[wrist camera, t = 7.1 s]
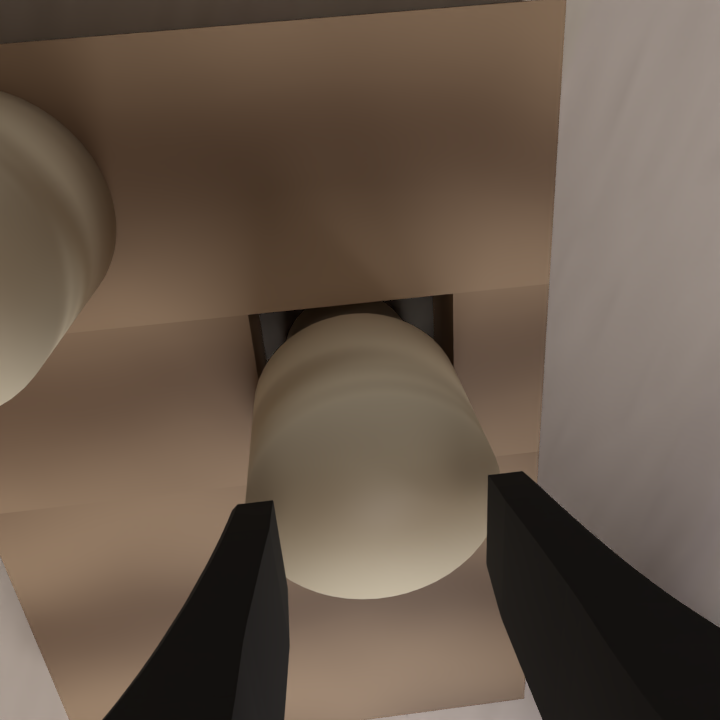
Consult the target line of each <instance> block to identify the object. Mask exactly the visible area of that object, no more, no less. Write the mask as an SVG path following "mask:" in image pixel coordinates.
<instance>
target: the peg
mask: <svg viewBox="0 0 720 720" xmlns="http://www.w3.org/2000/svg"><path fill="white" fill-rule="evenodd" d="M493 474H500V470H499V466H498V463H497V460H496V457H495V455H494V453H493V451H492V448H491V446H490V444H489V442H488V440H487V438H486V436H485V433H484V431H483V429H482V427H481V425H480V423H479V421H478V419H477V416H476V414H475V412H474V410H473V408H472V406H471V404H470V402H469V399H468V397H467V395H466V393H465V391H464V389H463V387H462V385H461V382H460V380H459V378H458V376H457V374H456V372H455V370H454V367H453V366H452V364H451V362H450V360H449V358H448V356H447V355H446V354H445V352H444V351H443V349H442V348H441V347H440V346H439V345H438V344H437V343H436V342H435V341H434V340H433V339H432V338H431V337H430V336H429V335H427V334H426V333H425V332H423V331H422V330H420V329H419V328H417V327H415V326H413V325H411V324H409V323H407V322H404V321H402V319H401V318H400V317H399V315H398V314H397V313H396V312H395V311H394V310H393V309H392V308H391V307H390V306H388V305H387V304H386V303H384V302H382V301H376V302H367V303H357V304H347V305H338V306H328V307H318V308H308V309H305V310H304V311H303V312H302V313H301V314H300V315H299V316H298V317H297V319H296V320H295V321H294V323H293V325H292V326H291V328H290V331H289V333H288V336H287V340H286V342H285V343H284V344H283V345H281V346H280V347H279V348H278V349H277V351H276V352H275V353H274V354H273V355H272V357H271V358H270V359H269V361H268V363H267V364H266V366H265V367H264V369H263V371H262V374H261V376H260V378H259V380H258V384H257V388H256V391H255V398H254V408H253V419H252V431H251V442H250V454H249V465H248V476H247V488H246V499H245V503H253V502H262V501H270V500H273V502H274V508H275V514H276V520H277V526H278V532H279V538H280V544H281V550H282V556H283V562H284V568H285V574H286V578H288V579H289V580H291V581H292V582H294V583H296V584H298V585H300V586H302V587H304V588H307V589H309V590H312V591H315V592H317V593H321V594H325V595H329V596H333V597H340V598H346V599H378V598H385V597H392V596H397V595H401V594H405V593H409V592H412V591H415V590H417V589H420V588H423V587H425V586H427V585H430V584H432V583H434V582H436V581H438V580H440V579H441V578H443V577H445V576H446V575H448V574H450V573H451V572H452V571H454V570H455V569H457V568H458V567H459V566H461V565H462V564H463V563H464V562H465V561H466V560H467V559H468V558H469V557H471V556H472V555H473V553H474V552H475V551H476V550H477V549H478V548H479V546H480V545H481V544H482V542H483V541H484V539H485V538H486V536H487V496H488V475H493Z"/></svg>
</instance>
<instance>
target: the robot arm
mask: <svg viewBox="0 0 720 720" xmlns="http://www.w3.org/2000/svg"><path fill="white" fill-rule="evenodd" d="M486 565H487V569H488V572H489V576H490V580H491V584H492V587H493V591H494V595H495V598H496V602H497V605H498V609H499V612H500V616H501V619H502V621H503V624H504V626H505V629H506V631H507V634H508V636H509V639H510V641H511V644H512V646H513V649H514V651H515V654H516V656H517V659H518V661H519V664H520V666H521V668H522V671H523V673H524V676H525V678H526V681H527V683H528V685H529V688H530V690H531V693H532V695H533V698H534V700H535V702H536V705H537V707H538V710H539V712H540V715H541V717H542V719H543V720H720V628H719V627H717V626H716V625H714V624H713V623H711V622H710V621H708V620H707V619H705V618H704V617H702V616H701V615H699V614H697V613H696V612H694V611H693V610H691V609H690V608H688V607H687V606H685V605H684V604H682V603H681V602H679V601H678V600H676V599H675V598H673V597H672V596H671V595H669V594H668V593H666V592H665V591H663V590H662V589H661V588H659V587H658V586H657V585H655V584H654V583H653V582H651V581H650V580H649V579H647V578H646V577H645V576H643V575H642V574H641V573H639V572H638V571H637V570H635V569H634V568H633V567H632V566H630V565H629V564H628V563H627V562H625V561H624V560H623V559H622V558H620V557H619V556H618V555H617V554H615V553H614V552H613V551H612V550H611V549H609V548H608V547H607V546H606V545H605V544H604V543H602V542H601V541H600V540H599V539H598V538H596V537H595V536H594V535H593V534H592V533H591V532H589V531H588V530H587V529H586V528H585V527H584V526H583V525H581V524H580V523H579V522H578V521H577V520H576V519H575V518H573V517H572V516H571V515H570V514H569V513H568V512H567V511H566V510H565V509H564V508H562V507H561V506H560V505H559V504H558V503H557V502H556V501H555V500H554V499H553V498H552V497H551V496H549V495H548V494H547V493H546V492H545V491H544V490H543V489H542V488H541V487H540V486H539V485H538V484H537V483H536V482H534V481H533V480H532V479H531V478H530V477H529V476H528V475H527V474H526V473H524V472H523V471H518V472H510V473H501V474H493V475H488V496H487V549H486ZM289 649H290V637H289V606H288V586H287V580H286V574H285V568H284V562H283V556H282V550H281V544H280V538H279V532H278V526H277V520H276V514H275V508H274V502H273V500H270V501H262V502H253V503H245V504H237V506H236V507H235V508H234V509H233V510H232V511H231V514H230V516H229V519H228V521H227V523H226V526H225V528H224V530H223V532H222V534H221V537H220V539H219V541H218V543H217V545H216V547H215V549H214V551H213V553H212V555H211V557H210V559H209V561H208V563H207V564H206V566H205V568H204V570H203V572H202V574H201V575H200V577H199V579H198V581H197V582H196V584H195V586H194V588H193V590H192V591H191V593H190V595H189V597H188V598H187V600H186V602H185V604H184V605H183V607H182V609H181V610H180V612H179V613H178V615H177V616H176V618H175V619H174V621H173V623H172V624H171V626H170V627H169V629H168V630H167V632H166V634H165V635H164V637H163V638H162V640H161V641H160V643H159V645H158V646H157V648H156V649H155V651H154V652H153V653H152V655H151V656H150V658H149V659H148V661H147V662H146V663H145V665H144V666H143V668H142V669H141V670H140V672H139V673H138V675H137V676H136V677H135V679H134V680H133V681H132V683H131V684H130V685H129V687H128V688H127V689H126V691H125V692H124V693H123V694H122V696H121V697H120V698H119V700H118V701H117V702H116V704H115V705H114V706H113V707H112V709H111V710H110V711H109V712H108V713H107V715H106V716H105V717H104V718H103V719H102V720H284V717H285V704H286V691H287V677H288V663H289Z"/></svg>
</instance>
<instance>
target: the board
mask: <svg viewBox="0 0 720 720" xmlns="http://www.w3.org/2000/svg"><path fill="white" fill-rule="evenodd" d="M565 12H566V0H535V1H521V2H509V3H496V4H484V5H472V6H459V7H447V8H435V9H423V10H410V11H398V12H386V13H373V14H361V15H349V16H337V17H324V18H312V19H300V20H287V21H275V22H263V23H251V24H238V25H226V26H214V27H201V28H189V29H177V30H164V31H152V32H140V33H128V34H115V35H103V36H91V37H78V38H66V39H54V40H42V41H29V42H17V43H5V44H0V556H1V558H2V561H3V563H4V566H5V568H6V570H7V573H8V575H9V577H10V580H11V582H12V585H13V587H14V589H15V592H16V594H17V597H18V599H19V601H20V604H21V606H22V608H23V611H24V613H25V616H26V618H27V620H28V623H29V625H30V627H31V630H32V632H33V635H34V637H35V639H36V642H37V644H38V646H39V649H40V651H41V654H42V656H43V658H44V661H45V663H46V665H47V668H48V670H49V673H50V675H51V677H52V680H53V682H54V685H55V687H56V689H57V692H58V694H59V696H60V699H61V701H62V704H63V706H64V708H65V711H66V713H67V715H68V718H69V720H102V719H103V718H104V717H105V716H106V715H107V713H108V712H109V711H110V710H111V709H112V707H113V706H114V705H115V704H116V702H117V701H118V700H119V698H120V697H121V696H122V694H123V693H124V692H125V691H126V689H127V688H128V687H129V685H130V684H131V683H132V681H133V680H134V679H135V677H136V676H137V675H138V673H139V672H140V670H141V669H142V668H143V666H144V665H145V663H146V662H147V661H148V659H149V658H150V656H151V655H152V653H153V652H154V651H155V649H156V648H157V646H158V645H159V643H160V641H161V640H162V638H163V637H164V635H165V634H166V632H167V630H168V629H169V627H170V626H171V624H172V623H173V621H174V619H175V618H176V616H177V615H178V613H179V612H180V610H181V609H182V607H183V605H184V604H185V602H186V600H187V598H188V597H189V595H190V593H191V591H192V590H193V588H194V586H195V584H196V582H197V581H198V579H199V577H200V575H201V574H202V572H203V570H204V568H205V566H206V564H207V563H208V561H209V559H210V557H211V555H212V553H213V551H214V549H215V547H216V545H217V543H218V541H219V539H220V537H221V534H222V532H223V530H224V528H225V526H226V523H227V521H228V519H229V516H230V514H231V511H232V510H233V509H234V508H235V507H236V506H237V504H245V499H246V488H247V476H248V465H249V454H250V442H251V431H252V419H253V408H254V398H255V391H256V388H257V384H258V380H259V378H260V376H261V374H262V371H263V369H264V367H265V366H266V364H267V363H266V356H265V350H264V343H263V337H262V330H261V324H260V317H259V314H260V313H270V312H279V311H289V310H299V309H308V308H318V307H328V306H338V305H347V304H357V303H367V302H376V301H386V300H396V299H406V298H415V297H425V296H433V316H434V341H435V342H436V343H437V344H438V345H439V346H440V347H441V348H442V349H443V351H444V352H445V354H446V355H447V356H448V358H449V360H450V362H451V364H452V366H453V367H454V370H455V372H456V374H457V376H458V378H459V380H460V382H461V385H462V387H463V389H464V391H465V393H466V395H467V397H468V399H469V402H470V404H471V406H472V408H473V410H474V412H475V414H476V416H477V419H478V421H479V423H480V425H481V427H482V429H483V431H484V433H485V436H486V438H487V440H488V442H489V444H490V446H491V448H492V451H493V453H494V455H495V457H496V460H497V463H498V466H499V470H500V474H501V473H510V472H518V471H523V472H524V473H526V474H527V475H528V476H529V477H530V478H531V479H532V480H533V481H534V482H536V483H537V475H538V459H539V442H540V425H541V409H542V392H543V376H544V359H545V343H546V326H547V310H548V293H549V277H550V260H551V244H552V227H553V210H554V194H555V177H556V161H557V144H558V128H559V111H560V95H561V78H562V62H563V45H564V28H565ZM486 549H487V536H486V538H485V539H484V541H483V542H482V544H481V545H480V546H479V548H478V549H477V550H476V551H475V552H474V553H473V555H472V556H471V557H469V558H468V559H467V560H466V561H465V562H464V563H463V564H462V565H461V566H459V567H458V568H457V569H455V570H454V571H452V572H451V573H450V574H448V575H446V576H445V577H443V578H441V579H440V580H438V581H436V582H434V583H432V584H430V585H427V586H425V587H423V588H420V589H417V590H415V591H412V592H409V593H405V594H401V595H397V596H392V597H385V598H378V599H346V598H340V597H333V596H329V595H325V594H321V593H317V592H315V591H312V590H309V589H307V588H304V587H302V586H300V585H298V584H296V583H294V582H292V581H291V580H289V579H288V578H286V580H287V586H288V606H289V637H290V649H289V663H288V677H287V691H286V704H285V717H284V720H368V719H375V718H383V717H390V716H398V715H405V714H413V713H420V712H427V711H435V710H442V709H450V708H457V707H465V706H472V705H480V704H487V703H494V702H502V701H509V700H517V699H524V690H525V676H524V673H523V671H522V668H521V666H520V664H519V661H518V659H517V656H516V654H515V651H514V649H513V646H512V644H511V641H510V639H509V636H508V634H507V631H506V629H505V626H504V624H503V621H502V619H501V616H500V612H499V609H498V605H497V602H496V598H495V595H494V591H493V587H492V584H491V580H490V576H489V572H488V569H487V565H486Z"/></svg>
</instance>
